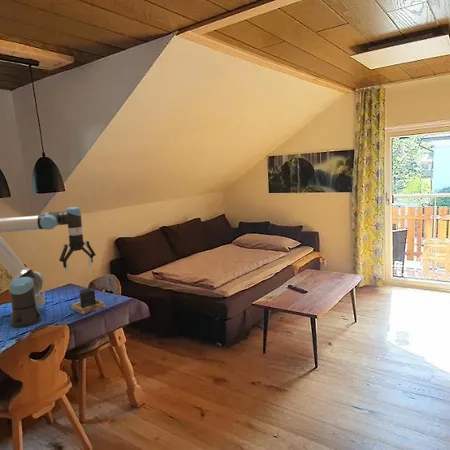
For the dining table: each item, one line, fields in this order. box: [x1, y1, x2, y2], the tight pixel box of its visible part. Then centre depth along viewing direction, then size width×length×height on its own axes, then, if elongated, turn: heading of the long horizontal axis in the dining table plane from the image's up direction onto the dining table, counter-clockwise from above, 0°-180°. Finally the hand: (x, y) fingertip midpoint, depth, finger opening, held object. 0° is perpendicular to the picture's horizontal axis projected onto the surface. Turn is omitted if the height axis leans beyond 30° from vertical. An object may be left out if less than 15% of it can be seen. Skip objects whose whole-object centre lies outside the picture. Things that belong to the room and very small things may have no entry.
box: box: [78, 287, 96, 308], centre depth 233 cm, size 8×6×11 cm
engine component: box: [33, 271, 47, 308], centre depth 245 cm, size 11×20×10 cm
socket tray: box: [71, 297, 106, 315], centre depth 234 cm, size 14×14×3 cm
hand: (79, 270), depth 232 cm, fingers open, 13 cm apart
